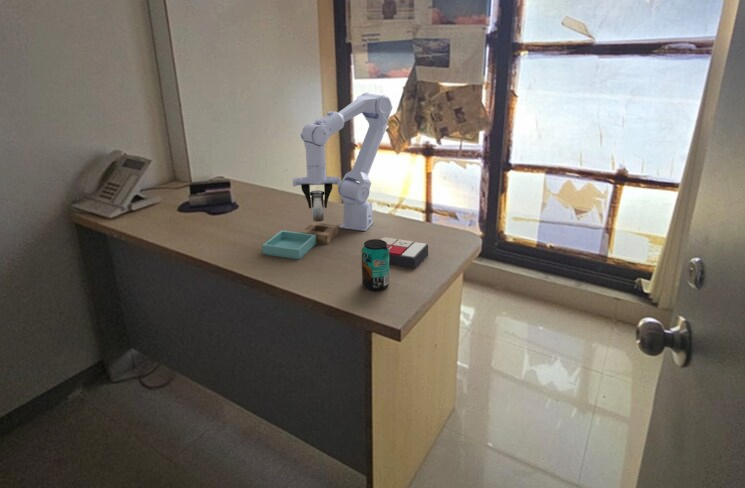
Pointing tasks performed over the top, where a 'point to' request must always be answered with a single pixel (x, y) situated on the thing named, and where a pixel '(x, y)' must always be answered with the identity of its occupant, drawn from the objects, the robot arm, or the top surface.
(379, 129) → the robot arm
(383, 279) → the beverage can
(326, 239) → the hole block
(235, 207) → the top surface
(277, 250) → the tray
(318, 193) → the steel pin
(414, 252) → the red white black box
